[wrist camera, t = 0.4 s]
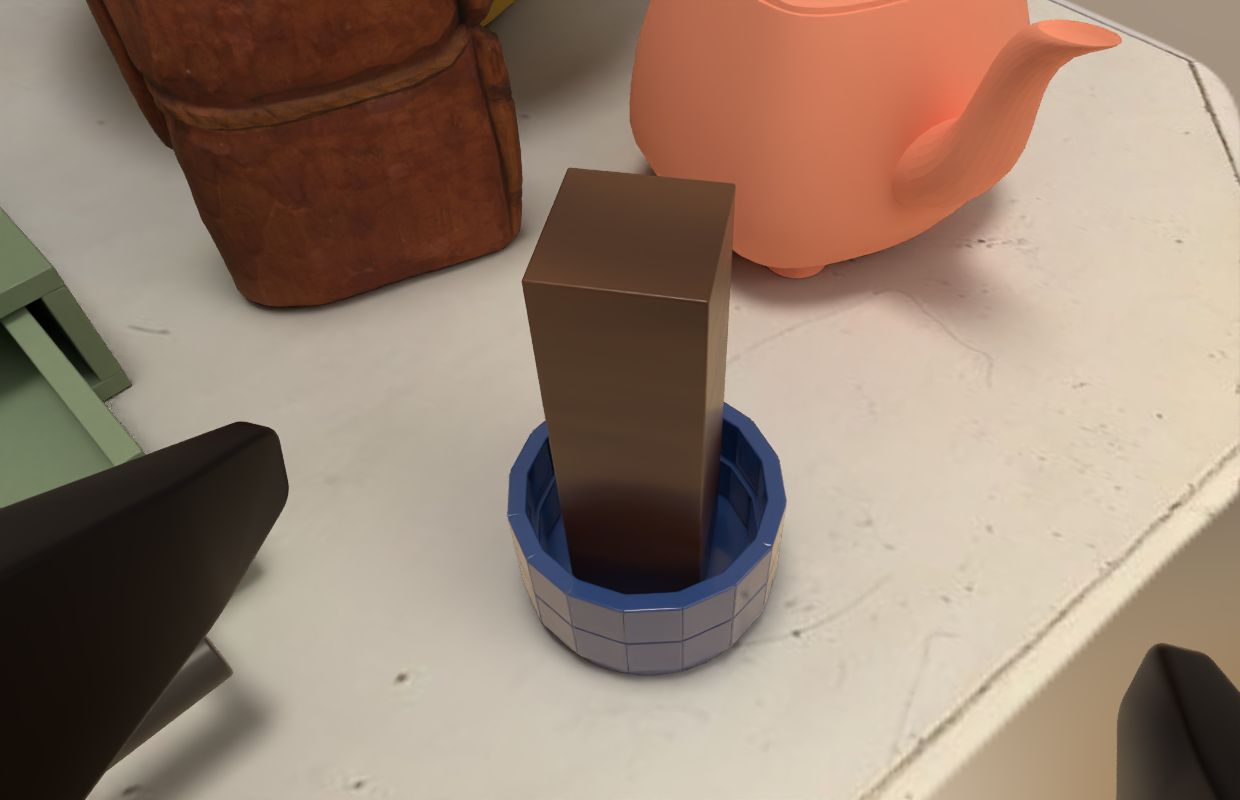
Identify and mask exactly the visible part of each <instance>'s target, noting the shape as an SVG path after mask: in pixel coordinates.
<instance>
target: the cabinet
mask: <svg viewBox="0 0 1240 800" xmlns="http://www.w3.org/2000/svg"><path fill="white" fill-rule="evenodd" d="M23 306H25V307H26V309H27V310H28V311H29V312H30V314H31V315H32V316H33V317H34V318H35V320H36V321H37V322H38V323H39V325H40V326H41V327H42V328H43V329H44V331H45V332H46V333H47V334H48V336H49V337H50V338H51V339H52V340H53V342H54V343H55V344H56V345H57V347H58V348H59V349H60V350H61V351H62V353H63V354H64V355H65V356H66V358H67V359H68V360H69V361H70V362H71V364H72V365H73V366H74V367H75V369H76V370H77V371H78V372H79V373H80V375H81V376H82V377H83V378H84V380H85V381H86V382H87V383H88V384H89V386H90V387H91V388H92V389H93V391H94V392H95V393H96V394H97V395H98V397H99V398H100V399H101V400H102V402H103V401H105V400H106V399H108V398H110V397H111V396H113V395H115V394H117V393H118V392H120V391H122V390H123V389H125V388H127V387H128V386H130V385H131V381H130V380H129V378H128V377H127V375H126V374H125V372H124V371H123V370H122V368H121V366H120V365H119V363H118V362H117V360H116V359H115V358H114V356H113V355H112V353H111V352H110V350H109V349H108V347H107V346H106V344H105V343H104V341H103V340H102V338H101V337H100V335H99V334H98V332H97V331H96V329H95V328H94V326H93V325H92V323H91V322H90V320H89V319H88V317H87V316H86V315H85V313H84V312H83V310H82V309H81V307H80V306H79V304H78V303H77V301H76V300H75V298H74V297H73V295H72V294H71V292H70V291H69V289H68V288H67V286H66V285H65V284H64V282H63V280H62V279H61V277H60V276H59V274H58V273H57V271H56V270H55V268H54V267H53V266H52V265H51V263H50V262H49V261H48V260H47V259H46V258H45V257H44V256H43V254H42V253H41V252H40V251H39V250H38V249H37V248H36V247H35V245H34V244H33V243H32V242H31V241H30V240H29V239H28V238H27V236H26V235H25V234H24V233H23V232H22V231H21V230H20V229H19V227H18V226H17V225H16V224H15V223H14V222H13V221H12V220H11V218H10V217H9V216H8V215H7V214H6V213H5V212H4V210H3V209H2V208H1V207H0V318H2V317H4V316H6V315H8V314H10V313H12V312H14V311H16V310H18V309H19V308H21V307H23Z"/></svg>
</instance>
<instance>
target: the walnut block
mask: <svg viewBox="0 0 1240 800" xmlns="http://www.w3.org/2000/svg"><path fill="white" fill-rule="evenodd" d="M735 193H736V186H735V184H734V183H726V182H715V181H705V180H694V179H684V178H673V177H662V176H652V175H641V174H630V173H620V172H609V171H598V170H588V169H577V168H568V169H567V172H566V174H565V177H564V179H563V182H562V184H561V186H560V189H559V191H558V194H557V196H556V199H555V201H554V204H553V206H552V208H551V211H550V213H549V216H548V218H547V221H546V223H545V225H544V228H543V230H542V233H541V235H540V238H539V240H538V243H537V245H536V247H535V250H534V252H533V255H532V257H531V260H530V262H529V265H528V267H527V269H526V272H525V274H524V277H523V279H522V286H523V292H524V297H525V303H526V309H527V315H528V321H529V326H530V332H531V338H532V344H533V350H534V355H535V361H536V367H537V373H538V379H539V384H540V390H541V396H542V402H543V408H544V413H545V419H546V425H547V431H548V437H549V442H550V448H551V454H552V460H553V466H554V471H555V477H556V483H557V489H558V495H559V501H560V506H561V512H562V518H563V524H564V530H565V535H566V541H567V547H568V553H569V559H570V564H571V570H572V575H573V576H575V577H576V578H577V579H578V580H581V581H584V582H587V583H591V584H594V585H597V586H600V587H603V588H606V589H609V590H613V591H616V592H619V593H622V594H625V595H629V594H648V593H668V592H679V591H681V590H683V589H685V588H688V587H690V586H692V585H695V584H697V583H699V582H702V581H704V580H706V574H707V569H708V563H709V558H710V552H711V546H712V541H713V535H714V530H715V524H716V519H717V513H718V495H719V477H720V459H721V442H722V424H723V406H724V388H725V371H726V353H727V335H728V317H729V299H730V282H731V264H732V246H733V228H734V211H735Z"/></svg>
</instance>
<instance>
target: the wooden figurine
mask: <svg viewBox="0 0 1240 800" xmlns="http://www.w3.org/2000/svg"><path fill="white" fill-rule="evenodd" d="M493 1H494V0H86V2H87V4H88V6H89V8H90V10H91V12H92V14H93V16H94V18H95V20H96V22H97V24H98V26H99V28H100V31H101V33H102V35H103V37H104V38H105V40H106V42H107V44H108V46H109V48H110V50H111V52H112V54H113V56H114V58H115V60H116V62H117V64H118V66H119V68H120V70H121V72H122V74H123V76H124V79H125V81H126V82H127V84H128V86H129V88H130V90H131V92H132V94H133V95H134V97H135V99H136V101H137V103H138V105H139V107H140V109H141V111H142V112H143V114H144V116H145V117H146V119H147V120H148V122H149V124H150V125H151V127H152V129H153V130H154V132H155V133H156V134H157V135H158V137H159V138H160V139H161V141H162V142H163V143H164V144H165V145H166V146H167V147H169V148H171V149H173V150H174V152H175V155H176V157H177V160H178V162H179V164H180V166H181V168H182V170H183V172H184V174H185V177H186V179H187V181H188V184H189V187H190V189H191V192H192V195H193V198H194V201H195V203H196V206H197V208H198V211H199V214H200V217H201V219H202V221H203V223H204V224H205V226H206V228H207V229H208V231H209V233H210V235H211V237H212V239H213V240H214V242H215V244H216V246H217V248H218V250H219V252H220V254H221V256H222V258H223V260H224V262H225V264H226V266H227V268H228V270H229V272H230V274H231V276H232V278H233V280H234V282H235V285H236V287H237V289H238V290H239V291H240V293H241V294H242V295H243V296H244V297H246V298H247V299H249V300H252V301H254V302H257V303H260V304H263V305H268V306H297V305H305V306H313V305H320V304H325V303H329V302H333V301H336V300H340V299H344V298H347V297H350V296H353V295H356V294H359V293H363V292H367V291H371V290H373V289H375V288H378V287H380V286H382V285H386V284H389V283H393V282H397V281H400V280H402V279H405V278H408V277H410V276H413V275H417V274H421V273H425V272H429V271H433V270H437V269H440V268H443V267H446V266H450V265H453V264H457V263H460V262H462V261H466V260H469V259H473V258H476V257H479V256H482V255H485V254H488V253H492V252H495V251H498V250H500V249H503V248H504V247H506V246H507V245H508V244H509V243H510V242H511V241H512V239H513V238H515V237H516V235H517V234H518V232H519V230H520V226H521V216H522V200H521V198H522V165H521V148H520V141H519V134H518V126H517V119H516V113H515V106H514V101H513V98H512V91H511V87H510V82H509V75H508V70H507V67H506V64H505V60H504V56H503V52H502V47H501V45H500V42H499V38H498V35H497V34H496V33H494V32H492V31H491V30H489V29H487V28H485V27H484V26H482V25H481V24H480V23H481V22H482V21H483V20H484V19H485V18H486V17H487V15H488V13H489V11H490V9H491V6H492V4H493Z"/></svg>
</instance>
